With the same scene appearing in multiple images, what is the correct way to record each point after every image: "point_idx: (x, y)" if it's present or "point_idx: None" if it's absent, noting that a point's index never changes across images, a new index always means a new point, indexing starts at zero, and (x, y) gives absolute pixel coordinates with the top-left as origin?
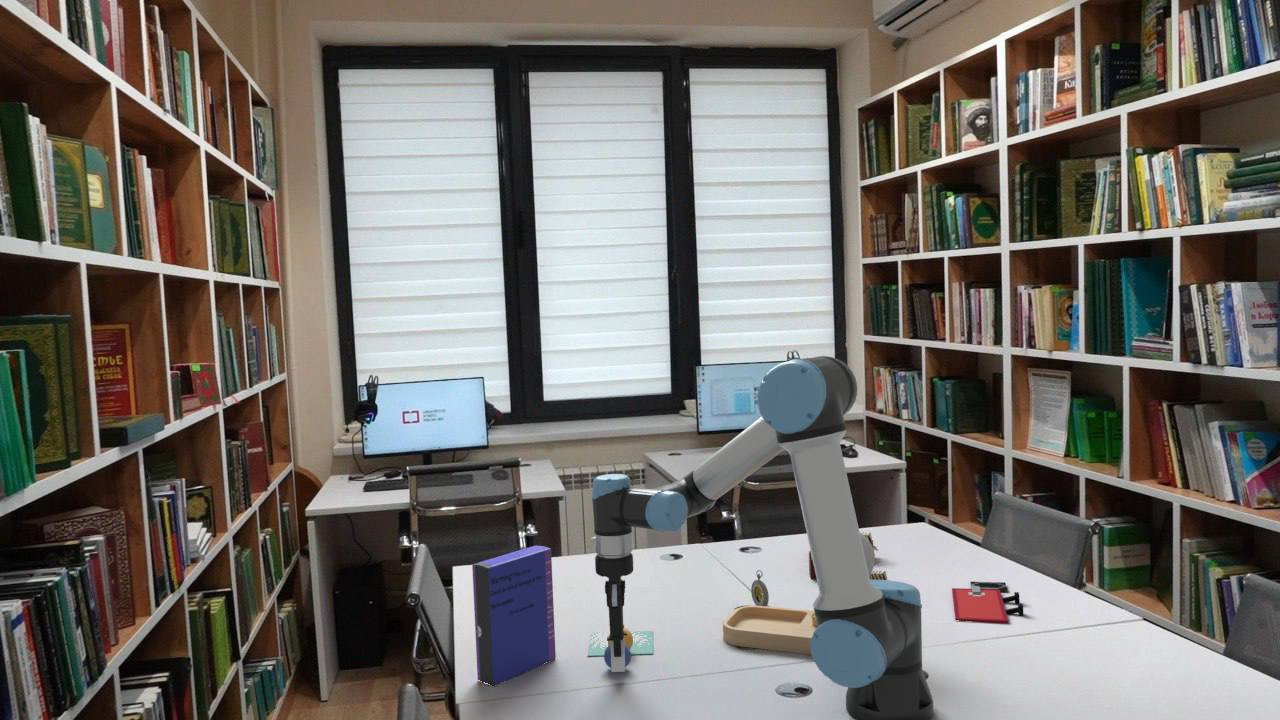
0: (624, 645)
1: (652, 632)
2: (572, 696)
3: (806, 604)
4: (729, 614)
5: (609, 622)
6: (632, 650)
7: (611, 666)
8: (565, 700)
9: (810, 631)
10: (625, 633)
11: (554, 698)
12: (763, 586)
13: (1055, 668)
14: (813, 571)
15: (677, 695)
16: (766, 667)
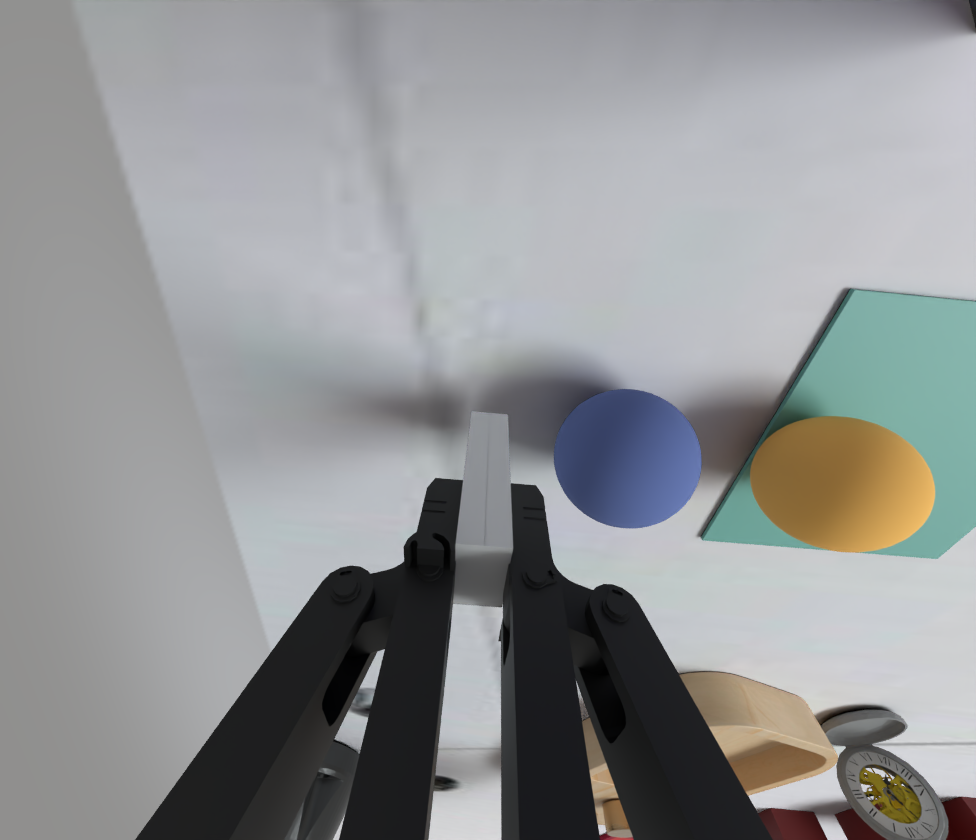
0: (619, 526)
1: (918, 556)
2: (297, 179)
3: (820, 774)
4: (801, 741)
5: (166, 799)
6: None
7: (470, 427)
8: (235, 128)
9: None
10: (499, 635)
11: (252, 35)
12: (884, 835)
13: (433, 833)
14: (973, 822)
15: (339, 556)
16: (500, 696)
